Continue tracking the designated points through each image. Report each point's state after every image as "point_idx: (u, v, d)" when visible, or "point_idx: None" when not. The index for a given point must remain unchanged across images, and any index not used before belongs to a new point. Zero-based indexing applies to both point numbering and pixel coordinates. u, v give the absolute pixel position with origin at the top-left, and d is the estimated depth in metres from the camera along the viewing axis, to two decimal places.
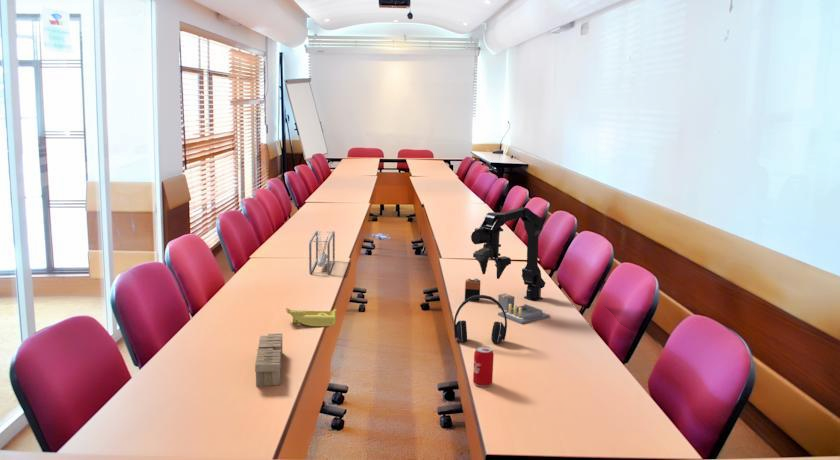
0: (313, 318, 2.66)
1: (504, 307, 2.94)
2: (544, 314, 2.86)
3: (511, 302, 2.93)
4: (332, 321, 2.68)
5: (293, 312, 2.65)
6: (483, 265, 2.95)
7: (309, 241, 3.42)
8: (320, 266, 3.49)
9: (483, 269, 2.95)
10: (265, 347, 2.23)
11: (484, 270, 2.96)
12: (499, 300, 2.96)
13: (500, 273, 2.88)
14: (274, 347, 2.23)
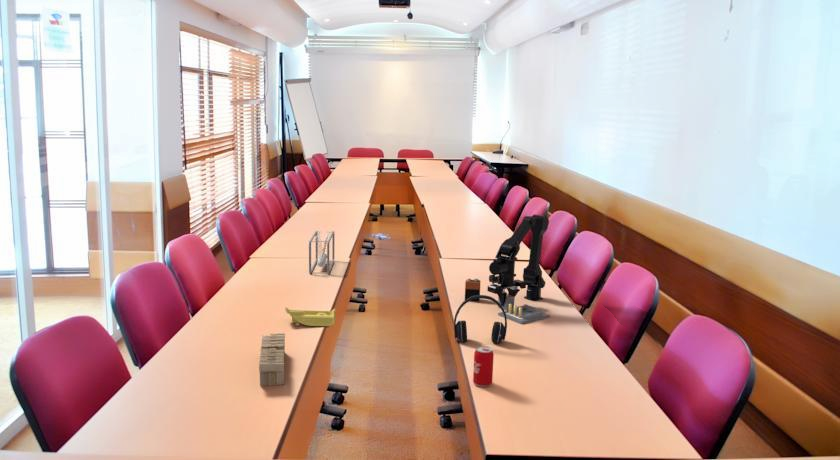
0: (312, 318, 2.66)
1: (504, 307, 2.94)
2: (544, 314, 2.86)
3: (511, 302, 2.93)
4: (331, 321, 2.68)
5: (292, 312, 2.65)
6: None
7: (309, 241, 3.42)
8: (320, 266, 3.49)
9: None
10: (268, 347, 2.23)
11: None
12: (499, 300, 2.96)
13: (501, 300, 2.93)
14: (277, 347, 2.24)
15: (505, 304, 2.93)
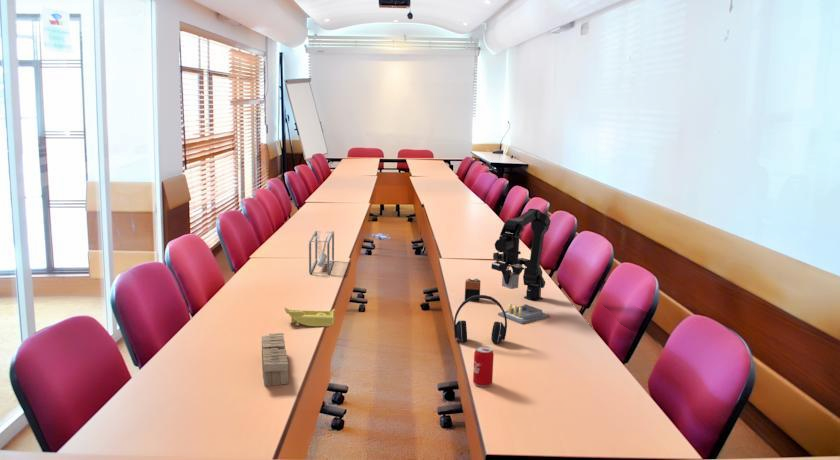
0: (311, 318, 2.66)
1: (508, 285, 2.90)
2: (544, 314, 2.86)
3: (515, 280, 2.89)
4: (330, 321, 2.67)
5: (291, 312, 2.65)
6: None
7: (309, 241, 3.42)
8: (320, 266, 3.49)
9: None
10: (269, 347, 2.23)
11: None
12: (503, 278, 2.92)
13: (505, 278, 2.89)
14: (278, 347, 2.24)
15: (509, 282, 2.89)
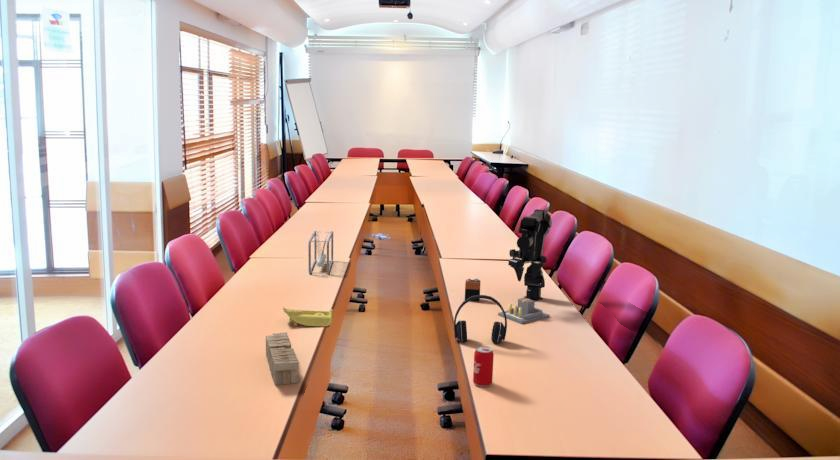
0: (309, 318, 2.66)
1: (524, 312, 2.84)
2: (544, 314, 2.86)
3: (531, 307, 2.84)
4: (328, 321, 2.67)
5: (289, 311, 2.66)
6: (534, 269, 2.97)
7: (309, 241, 3.42)
8: (319, 266, 3.49)
9: (533, 273, 2.98)
10: (276, 346, 2.24)
11: (534, 274, 2.97)
12: (519, 305, 2.86)
13: (518, 275, 2.91)
14: (285, 346, 2.25)
15: (525, 309, 2.83)
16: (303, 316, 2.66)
